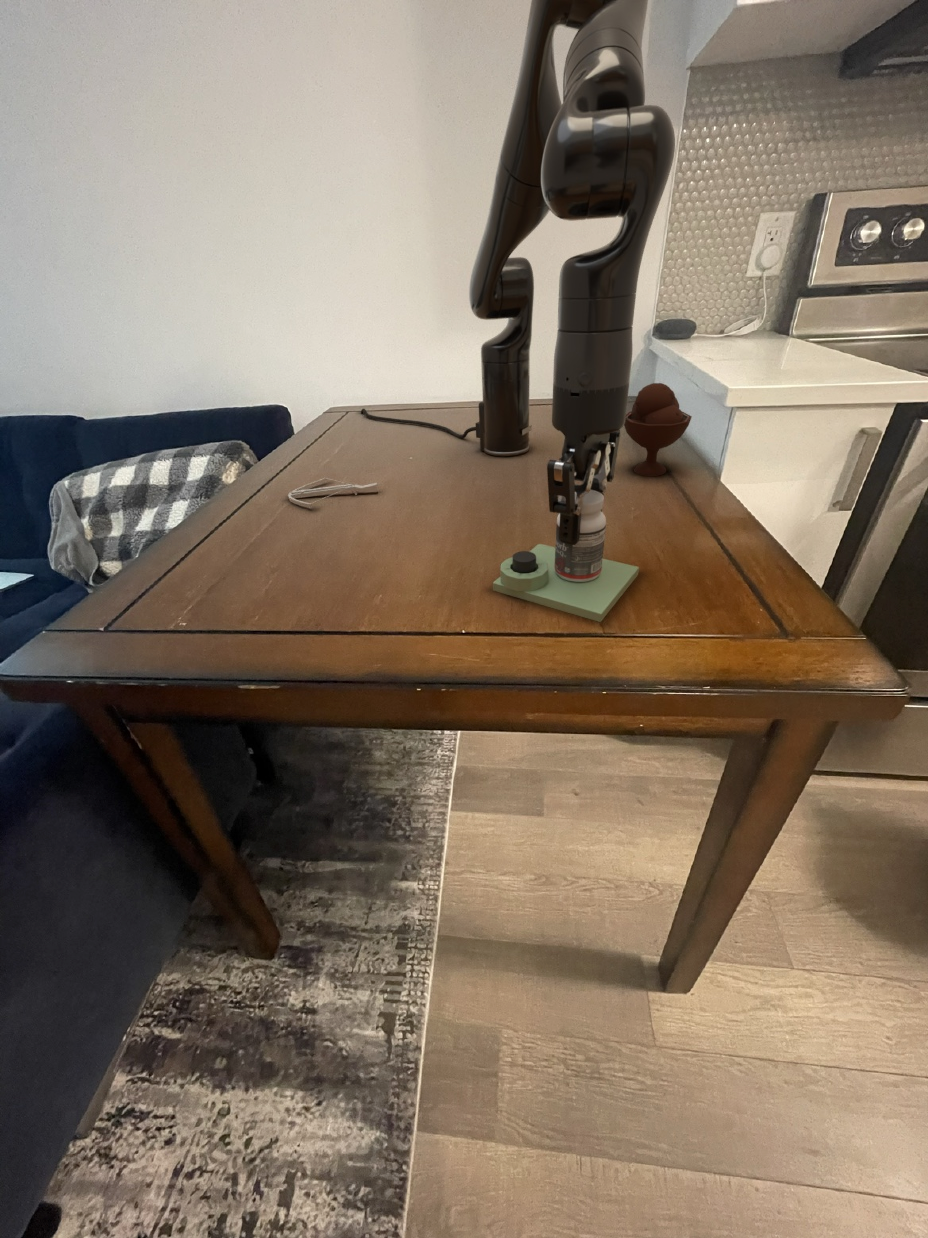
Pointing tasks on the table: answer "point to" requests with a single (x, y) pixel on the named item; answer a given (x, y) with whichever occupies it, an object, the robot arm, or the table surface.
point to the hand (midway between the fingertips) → (580, 531)
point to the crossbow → (327, 491)
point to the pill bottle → (583, 543)
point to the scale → (566, 585)
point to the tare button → (524, 562)
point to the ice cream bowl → (655, 424)
